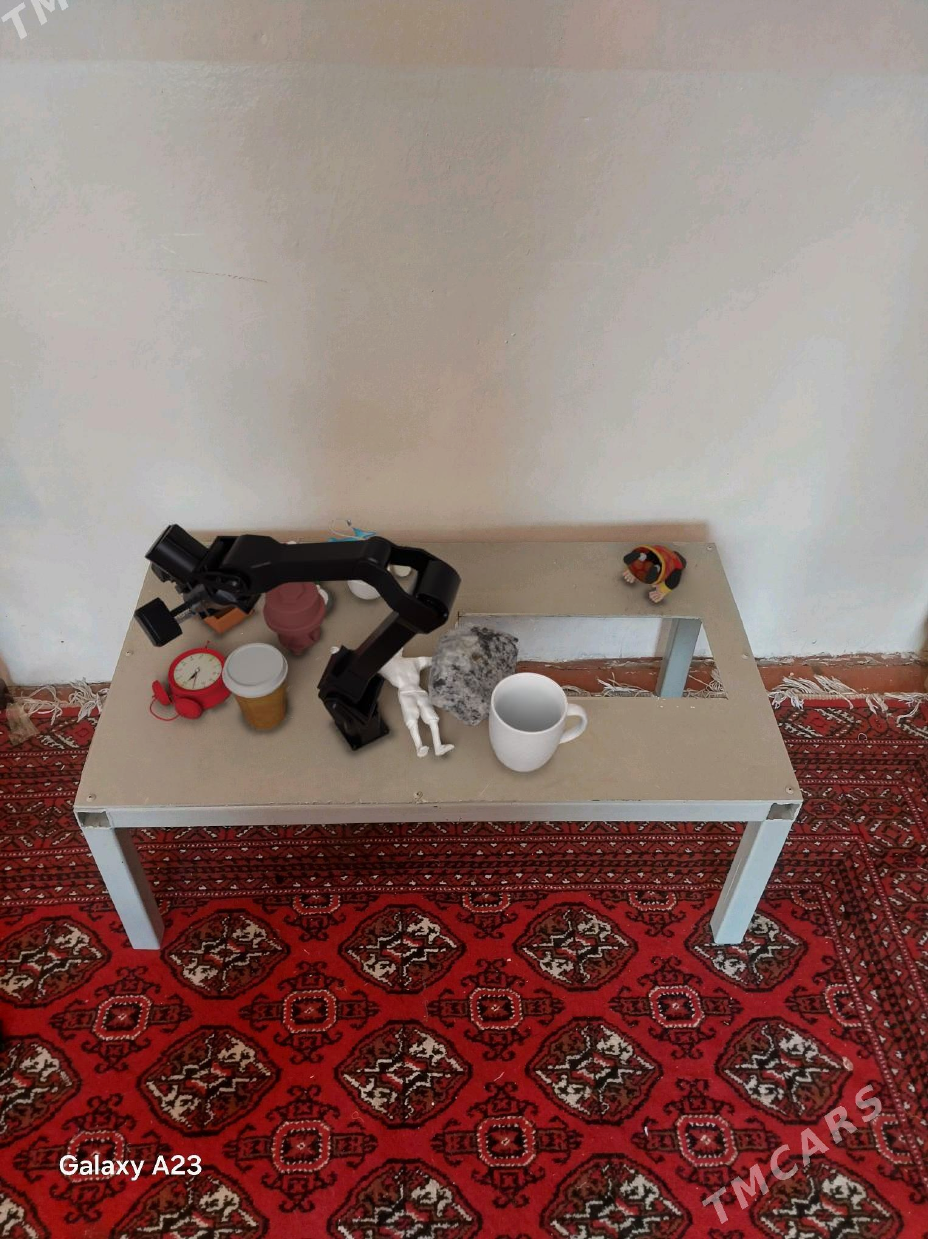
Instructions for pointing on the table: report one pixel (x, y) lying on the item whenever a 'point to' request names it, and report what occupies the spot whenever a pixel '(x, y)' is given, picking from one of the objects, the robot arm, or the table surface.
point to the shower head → (397, 569)
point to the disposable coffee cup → (258, 683)
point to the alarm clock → (193, 683)
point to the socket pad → (226, 620)
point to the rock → (470, 669)
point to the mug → (530, 720)
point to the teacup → (363, 589)
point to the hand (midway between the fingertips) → (186, 603)
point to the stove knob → (326, 597)
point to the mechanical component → (295, 614)
